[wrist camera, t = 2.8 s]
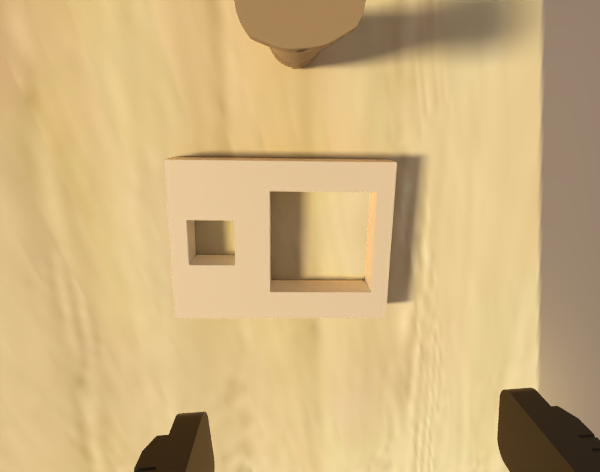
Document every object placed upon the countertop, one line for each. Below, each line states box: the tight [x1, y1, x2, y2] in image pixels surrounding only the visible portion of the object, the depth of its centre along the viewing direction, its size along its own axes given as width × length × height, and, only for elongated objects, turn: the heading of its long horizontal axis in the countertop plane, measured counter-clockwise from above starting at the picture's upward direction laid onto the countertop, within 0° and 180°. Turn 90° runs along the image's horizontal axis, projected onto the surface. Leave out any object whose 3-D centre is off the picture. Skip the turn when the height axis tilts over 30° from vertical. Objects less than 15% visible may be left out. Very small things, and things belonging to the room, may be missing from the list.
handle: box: [234, 0, 366, 69], centre depth 28 cm, size 5×6×15 cm
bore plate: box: [164, 157, 397, 318], centre depth 37 cm, size 19×14×3 cm
